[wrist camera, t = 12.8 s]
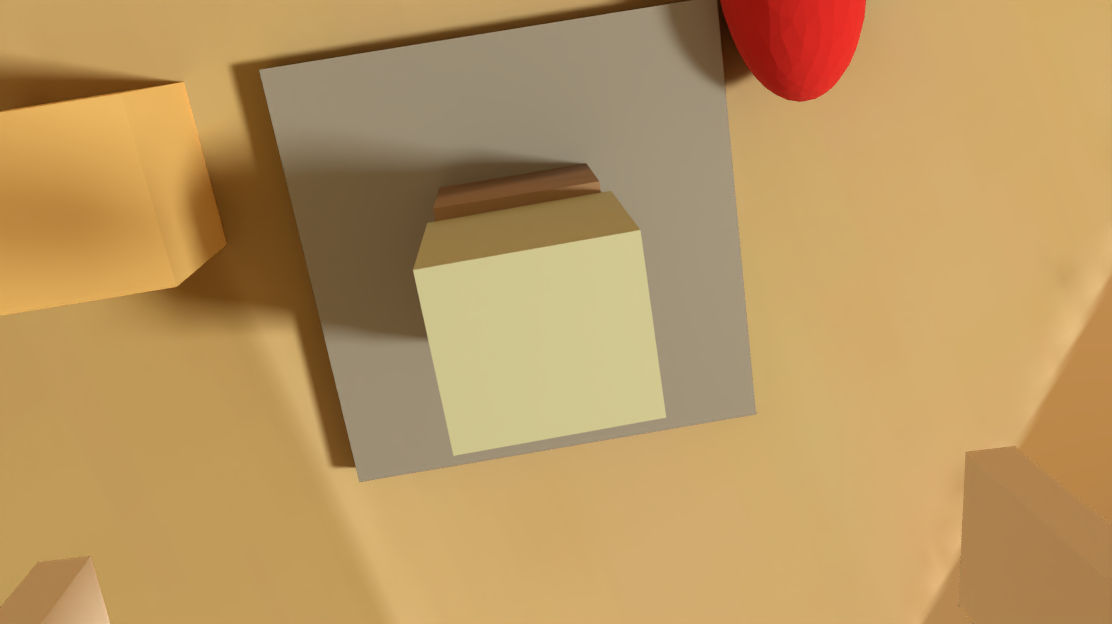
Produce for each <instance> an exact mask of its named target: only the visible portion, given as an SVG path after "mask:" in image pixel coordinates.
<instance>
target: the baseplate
mask: <svg viewBox="0 0 1112 624" xmlns="http://www.w3.org/2000/svg"><path fill="white" fill-rule="evenodd" d="M259 72H260V76H261V80H262V84H263V88H264V92H265V96H266V100H267V105H268V109H269V113H270V117H271V121H272V125H273V129H274V133H275V137H276V142H277V146H278V150H279V154H280V158H281V162H282V166H283V170H284V174H285V178H286V183H287V187H288V191H289V195H290V199H291V203H292V207H293V211H294V215H295V220H296V224H297V228H298V232H299V236H300V240H301V244H302V248H303V252H304V256H305V261H306V265H307V269H308V273H309V277H310V281H311V285H312V289H313V293H314V298H315V302H316V306H317V310H318V314H319V318H320V322H321V326H322V330H323V334H324V339H325V343H326V347H327V351H328V355H329V359H330V363H331V367H332V371H333V376H334V380H335V384H336V388H337V392H338V396H339V400H340V404H341V408H342V412H343V417H344V421H345V425H346V429H347V433H348V437H349V441H350V445H351V449H352V454H353V458H354V462H355V466H356V470H357V474H358V478H359V482H363V481H369V480H375V479H381V478H387V477H392V476H398V475H404V474H410V473H416V472H422V471H428V470H433V469H439V468H445V467H451V466H457V465H463V464H469V463H474V462H480V461H486V460H492V459H498V458H504V457H510V456H515V455H521V454H527V453H533V452H539V451H545V450H550V449H556V448H562V447H568V446H574V445H580V444H586V443H591V442H597V441H603V440H609V439H615V438H621V437H627V436H632V435H638V434H644V433H650V432H656V431H662V430H668V429H673V428H679V427H685V426H691V425H697V424H703V423H709V422H714V421H720V420H726V419H732V418H738V417H744V416H750V415H755V414H756V409H755V399H754V388H753V377H752V367H751V356H750V346H749V335H748V324H747V314H746V303H745V292H744V282H743V271H742V260H741V250H740V239H739V228H738V218H737V207H736V196H735V186H734V175H733V165H732V154H731V143H730V133H729V122H728V111H727V101H726V90H725V79H724V69H723V58H722V47H721V37H720V26H719V15H718V5H717V0H689V1H683V2H677V3H670V4H664V5H658V6H652V7H645V8H639V9H633V10H627V11H620V12H614V13H608V14H602V15H596V16H589V17H583V18H577V19H571V20H564V21H558V22H552V23H546V24H540V25H533V26H527V27H521V28H515V29H508V30H502V31H496V32H490V33H484V34H477V35H471V36H465V37H459V38H452V39H446V40H440V41H434V42H427V43H421V44H415V45H409V46H403V47H396V48H390V49H384V50H378V51H371V52H365V53H359V54H353V55H347V56H340V57H334V58H328V59H322V60H315V61H309V62H303V63H297V64H291V65H284V66H278V67H272V68H266V69H261V70H259ZM581 164H587V165H588V166H589V168H590V169H591V170H592V172H593V173H594V175H595V176H596V177H597V179H598V180H599V183H600V190H601V192H606V191H612V193H613V194H614V195H615V197H616V198H617V199H618V201H619V202H620V203H621V205H622V206H623V207H624V209H625V210H626V211H627V213H628V214H629V215H630V217H631V218H632V219H633V221H634V222H635V223H636V225H637V226H638V227H639V229H640V230H641V238H642V245H643V252H644V259H645V267H646V274H647V281H648V288H649V296H650V303H651V310H652V317H653V325H654V332H655V339H656V347H657V354H658V361H659V368H660V376H661V383H662V390H663V397H664V405H665V412H666V418H661V419H656V420H650V421H644V422H639V423H633V424H628V425H622V426H617V427H611V428H605V429H600V430H594V431H589V432H583V433H578V434H572V435H567V436H561V437H555V438H550V439H544V440H539V441H533V442H528V443H522V444H517V445H511V446H505V447H500V448H494V449H489V450H483V451H478V452H472V453H467V454H461V455H455V456H453V451H452V447H451V442H450V437H449V433H448V428H447V424H446V419H445V415H444V410H443V405H442V401H441V396H440V392H439V387H438V382H437V378H436V373H435V369H434V364H433V360H432V355H431V350H430V346H429V341H428V337H427V332H426V327H425V323H424V318H423V314H422V309H421V304H420V300H419V295H418V291H417V286H416V282H415V277H414V272H413V268H414V265H415V262H416V259H417V255H418V252H419V249H420V245H421V242H422V239H423V236H424V232H425V229H426V226H427V223H429V222H435V216H434V211H433V207H434V204H435V200H436V197H437V194H438V190H439V188H441V187H447V186H453V185H459V184H465V183H471V182H477V181H483V180H489V179H495V178H502V177H508V176H514V175H520V174H526V173H532V172H538V171H544V170H550V169H556V168H562V167H569V166H575V165H581Z"/></svg>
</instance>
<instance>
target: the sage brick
mask: <svg viewBox="0 0 1112 624" xmlns="http://www.w3.org/2000/svg"><path fill="white" fill-rule="evenodd" d="M413 272H414V277H415V282H416V286H417V291H418V295H419V300H420V304H421V309H422V314H423V318H424V323H425V327H426V332H427V337H428V341H429V346H430V350H431V355H432V360H433V364H434V369H435V373H436V378H437V382H438V387H439V392H440V396H441V401H442V405H443V410H444V415H445V419H446V424H447V428H448V433H449V437H450V442H451V447H452V451H453V456H455V455H461V454H467V453H472V452H478V451H483V450H489V449H494V448H500V447H505V446H511V445H517V444H522V443H528V442H533V441H539V440H544V439H550V438H555V437H561V436H567V435H572V434H578V433H583V432H589V431H594V430H600V429H605V428H611V427H617V426H622V425H628V424H633V423H639V422H644V421H650V420H656V419H661V418H666V412H665V405H664V397H663V390H662V383H661V376H660V368H659V361H658V354H657V347H656V339H655V332H654V325H653V317H652V310H651V303H650V296H649V288H648V281H647V274H646V267H645V259H644V252H643V245H642V238H641V230H640V229H639V227H638V226H637V225H636V223H635V222H634V221H633V219H632V218H631V217H630V215H629V214H628V213H627V211H626V210H625V209H624V207H623V206H622V205H621V203H620V202H619V201H618V199H617V198H616V197H615V195H614V194H613V193H612V191H606V192H601V193H595V194H589V195H584V196H578V197H572V198H566V199H561V200H555V201H549V202H544V203H538V204H532V205H526V206H521V207H515V208H509V209H504V210H498V211H492V212H486V213H481V214H475V215H469V216H464V217H458V218H452V219H446V220H441V221H435V222H429V223H427V226H426V229H425V232H424V236H423V239H422V242H421V245H420V249H419V252H418V255H417V259H416V262H415V265H414V268H413Z"/></svg>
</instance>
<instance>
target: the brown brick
mask: <svg viewBox="0 0 1112 624" xmlns="http://www.w3.org/2000/svg"><path fill="white" fill-rule="evenodd" d="M595 193H601V190H600V183H599V180H598V179H597V177H596V176H595V175H594V173H593V172H592V170H591V169H590V168H589V166H588V165H587V164H581V165H575V166H569V167H562V168H556V169H550V170H544V171H538V172H532V173H526V174H520V175H514V176H508V177H502V178H495V179H489V180H483V181H477V182H471V183H465V184H459V185H453V186H447V187H441V188H439V190H438V194H437V197H436V200H435V204H434V207H433V211H434V216H435V221H441V220H446V219H452V218H458V217H464V216H469V215H475V214H481V213H486V212H492V211H498V210H504V209H509V208H515V207H521V206H526V205H532V204H538V203H544V202H549V201H555V200H561V199H566V198H572V197H578V196H584V195H589V194H595Z"/></svg>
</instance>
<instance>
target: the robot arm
mask: <svg viewBox="0 0 1112 624" xmlns="http://www.w3.org/2000/svg"><path fill="white" fill-rule="evenodd" d="M958 606H959V608H960V609H961V610H962V611H963V613H964V614H965V615H966V616H967V617H968V619H969V620H970V621H971V622H972V624H1112V524H1111V523H1110V522H1109V521H1108V520H1106V519H1105V518H1104V517H1103V516H1101V515H1100V514H1099V513H1097V512H1096V511H1095V510H1094V509H1093V508H1091V507H1090V506H1089V505H1088V504H1086V503H1085V502H1084V501H1083V500H1081V499H1080V498H1079V497H1078V496H1076V495H1075V494H1074V493H1072V492H1071V491H1070V490H1069V489H1068V488H1066V487H1065V486H1064V485H1063V484H1061V483H1060V482H1059V481H1058V480H1056V479H1055V478H1054V477H1053V476H1051V475H1050V474H1049V473H1048V472H1046V471H1045V470H1044V469H1043V468H1041V467H1040V466H1039V465H1037V464H1036V463H1035V462H1034V461H1033V460H1031V459H1030V458H1029V457H1028V456H1026V455H1025V454H1024V453H1022V452H1021V451H1020V450H1019V449H1018V448H1016V447H1015V446H1012V447H1003V448H995V449H987V450H978V451H970V452H966V457H965V478H964V499H963V520H962V541H961V561H960V583H959V603H958ZM0 624H110V622H109V618H108V615H107V611H106V608H105V604H104V600H103V597H102V593H101V590H100V586H99V583H98V579H97V576H96V572H95V569H94V565H93V561H92V558H91V556H87V557H79V558H70V559H62V560H53V561H45V562H38V563H37V564H36V565H35V566H34V567H33V569H32V570H31V571H30V572H29V573H28V575H27V576H26V577H25V578H24V579H23V581H22V582H21V583H20V584H19V586H18V587H17V588H16V589H15V590H14V592H13V593H12V594H11V595H10V596H9V598H8V599H7V600H6V601H5V602H4V604H3V605H2V606H1V607H0Z"/></svg>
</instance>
